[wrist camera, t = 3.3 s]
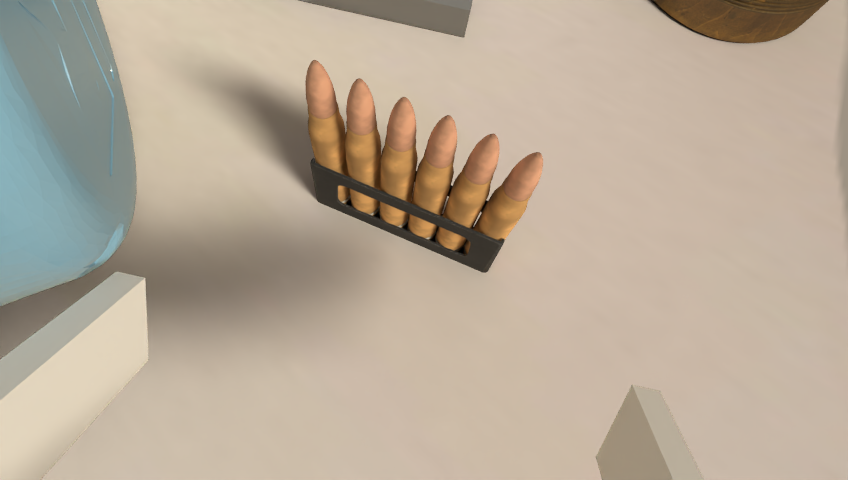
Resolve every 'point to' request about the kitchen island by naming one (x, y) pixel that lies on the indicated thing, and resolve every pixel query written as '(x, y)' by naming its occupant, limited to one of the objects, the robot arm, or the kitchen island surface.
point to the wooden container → (742, 17)
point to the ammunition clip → (412, 176)
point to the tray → (411, 12)
